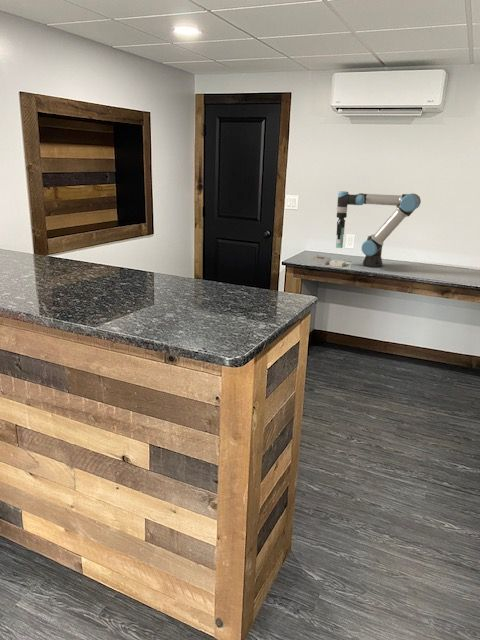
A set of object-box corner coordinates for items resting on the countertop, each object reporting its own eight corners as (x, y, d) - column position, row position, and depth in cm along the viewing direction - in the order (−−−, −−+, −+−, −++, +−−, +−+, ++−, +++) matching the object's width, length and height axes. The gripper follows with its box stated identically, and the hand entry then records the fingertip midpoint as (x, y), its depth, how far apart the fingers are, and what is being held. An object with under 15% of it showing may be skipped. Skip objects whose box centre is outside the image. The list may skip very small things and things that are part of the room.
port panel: (330, 262, 405) (330, 256, 404) (325, 265, 395) (325, 259, 394) (316, 260, 411) (316, 255, 409) (310, 263, 401) (311, 257, 399)
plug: (342, 247, 393) (344, 228, 388) (340, 248, 390) (342, 228, 385) (337, 246, 395) (338, 227, 390) (335, 247, 392) (337, 228, 387)
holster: (345, 264, 399) (345, 261, 398) (341, 266, 390) (342, 263, 390) (333, 263, 403) (333, 259, 402) (329, 265, 395) (329, 262, 394)
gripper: (340, 210, 393) (338, 240, 400) (333, 213, 378) (331, 244, 386) (349, 211, 389) (347, 241, 397) (343, 213, 375) (340, 244, 382)
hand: (339, 242), depth 391 cm, fingers closed on plug, 4 cm apart
